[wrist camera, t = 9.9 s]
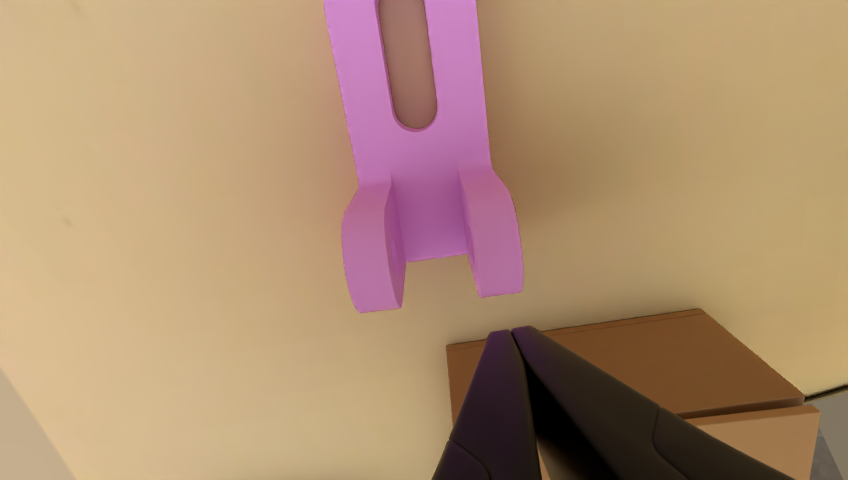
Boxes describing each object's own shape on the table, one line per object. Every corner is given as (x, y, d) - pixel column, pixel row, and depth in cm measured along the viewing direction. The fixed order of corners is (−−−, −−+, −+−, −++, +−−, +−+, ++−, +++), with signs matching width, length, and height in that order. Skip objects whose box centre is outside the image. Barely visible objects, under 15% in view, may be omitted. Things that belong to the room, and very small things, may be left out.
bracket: (494, 238, 21) (526, 312, 14) (378, 254, 21) (358, 333, 15) (463, -85, 16) (489, -191, 10) (317, -60, 17) (249, -148, 10)
